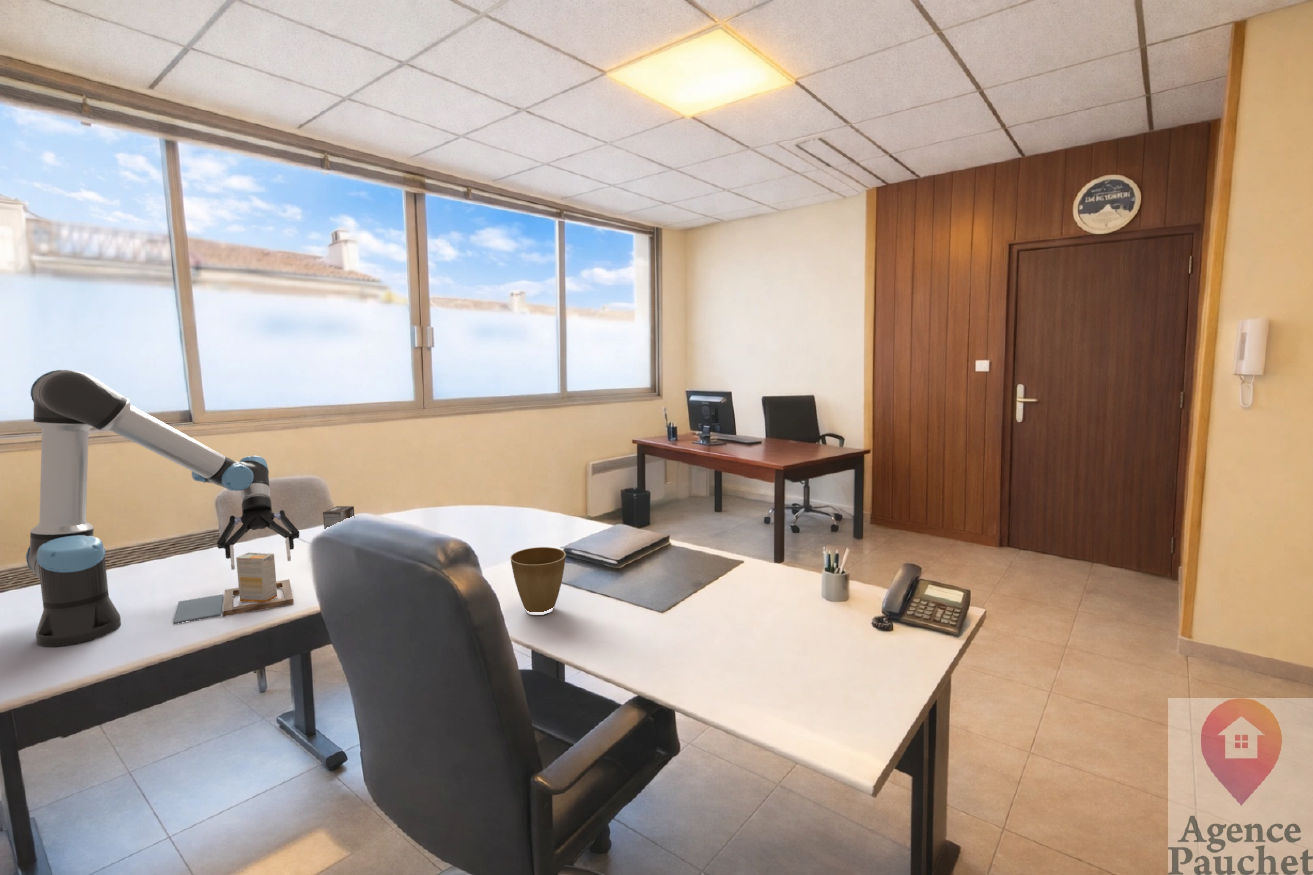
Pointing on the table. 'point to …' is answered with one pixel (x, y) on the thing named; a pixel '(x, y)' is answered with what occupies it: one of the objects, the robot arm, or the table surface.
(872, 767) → the table surface
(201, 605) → the mat
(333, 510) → the coffee box
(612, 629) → the table surface
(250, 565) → the supplement box
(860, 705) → the table surface
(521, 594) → the plant pot
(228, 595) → the holder
